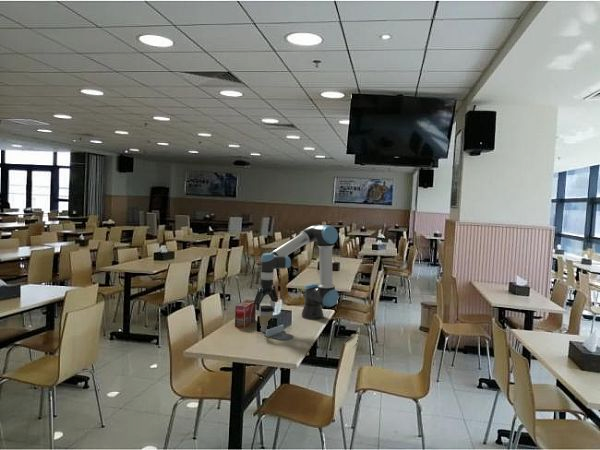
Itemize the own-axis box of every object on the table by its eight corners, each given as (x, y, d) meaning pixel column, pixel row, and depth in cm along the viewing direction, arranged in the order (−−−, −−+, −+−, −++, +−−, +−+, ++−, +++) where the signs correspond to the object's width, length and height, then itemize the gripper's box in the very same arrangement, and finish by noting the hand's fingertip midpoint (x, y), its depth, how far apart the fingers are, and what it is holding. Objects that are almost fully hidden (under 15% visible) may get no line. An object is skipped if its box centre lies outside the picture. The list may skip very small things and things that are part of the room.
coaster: (281, 333, 283) (281, 332, 283) (297, 337, 276) (297, 336, 276) (268, 337, 273) (268, 336, 273) (285, 341, 266) (285, 340, 266)
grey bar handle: (280, 330, 288) (281, 324, 288) (284, 331, 286) (285, 325, 286) (264, 336, 275) (264, 329, 275) (268, 337, 273) (268, 330, 273)
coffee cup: (269, 334, 280) (270, 309, 279) (255, 332, 283) (255, 307, 282) (275, 330, 289) (276, 306, 288) (261, 328, 292) (262, 304, 291)
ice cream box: (244, 328, 292) (245, 306, 292) (234, 326, 294) (235, 305, 293) (255, 320, 312) (256, 300, 311) (246, 319, 313) (246, 299, 313)
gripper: (274, 276, 297) (273, 309, 298) (248, 280, 277) (247, 315, 277) (284, 277, 293) (282, 311, 293) (258, 281, 272) (256, 318, 273)
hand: (265, 313), depth 285 cm, fingers open, 13 cm apart
